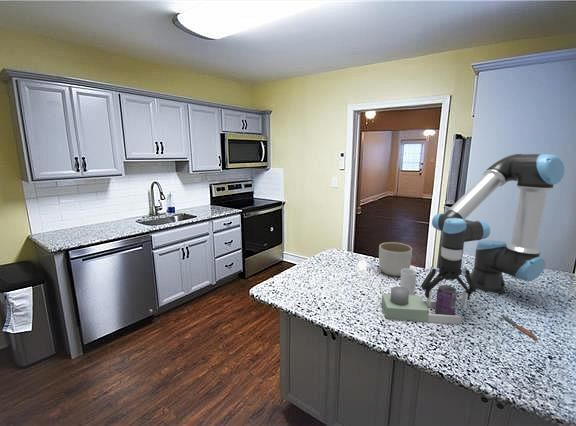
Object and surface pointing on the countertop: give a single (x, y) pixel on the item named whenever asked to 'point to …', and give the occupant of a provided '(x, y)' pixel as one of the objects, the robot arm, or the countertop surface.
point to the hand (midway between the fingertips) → (445, 305)
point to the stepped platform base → (412, 308)
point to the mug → (408, 280)
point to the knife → (521, 329)
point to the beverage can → (446, 300)
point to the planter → (394, 257)
